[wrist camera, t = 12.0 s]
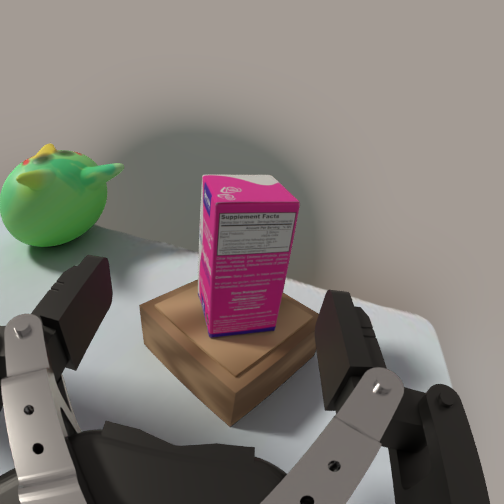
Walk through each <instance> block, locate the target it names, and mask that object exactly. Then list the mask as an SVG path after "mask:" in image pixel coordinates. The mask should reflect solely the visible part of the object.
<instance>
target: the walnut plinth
mask: <svg viewBox="0 0 504 504" xmlns="http://www.w3.org/2000/svg"><path fill="white" fill-rule="evenodd" d="M139 306H140V315H141V324H142V331H143V339H144V344H145V345H146V347H147V348H148V349H149V350H150V351H151V352H152V353H153V354H154V355H155V356H156V357H157V358H158V359H159V360H160V361H161V362H162V363H163V364H164V365H165V367H166V368H167V369H168V370H169V371H170V372H171V373H172V374H173V375H174V376H175V377H176V378H177V379H178V380H179V381H181V382H182V383H183V384H184V385H185V386H186V387H187V388H188V389H189V390H190V391H191V392H192V393H193V394H194V395H195V396H196V397H197V398H198V399H199V400H200V401H202V402H203V403H204V404H205V405H206V406H207V407H208V408H209V409H210V410H211V411H213V412H214V413H215V414H216V415H217V416H218V417H219V418H220V419H222V420H223V421H224V422H225V423H226V424H227V425H229V426H230V427H231V426H232V425H233V424H234V423H236V422H237V421H238V420H240V419H241V418H242V417H243V416H245V415H246V414H247V413H248V412H250V411H251V410H252V409H253V408H254V407H256V406H257V405H258V404H259V403H261V402H262V401H263V400H264V399H265V398H267V397H268V396H269V395H270V394H271V393H272V392H274V391H275V390H276V389H277V388H278V387H279V386H281V385H282V384H283V383H284V382H285V381H286V380H287V379H289V378H290V377H291V376H292V375H293V374H294V373H295V372H296V371H297V370H299V369H300V368H301V367H302V366H303V365H304V364H305V363H306V362H307V361H308V360H309V359H311V358H312V357H313V356H314V354H315V351H316V343H315V325H316V321H317V318H318V315H319V314H318V313H316V312H315V311H313V310H311V309H310V308H308V307H306V306H305V305H303V304H301V303H300V302H298V301H296V300H295V299H293V298H291V297H290V296H288V295H286V294H285V293H283V294H282V299H281V304H280V308H279V313H278V318H277V323H276V328H275V331H269V332H259V333H250V334H241V335H231V336H222V337H212V338H210V337H209V334H208V329H207V325H206V321H205V317H204V313H203V309H202V305H201V302H200V299H199V296H198V280H195V281H193V282H191V283H189V284H186V285H184V286H182V287H180V288H177V289H175V290H173V291H170V292H168V293H166V294H164V295H161V296H159V297H157V298H155V299H152V300H150V301H148V302H145V303H143V304H141V305H139Z"/></svg>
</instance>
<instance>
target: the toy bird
mask: <svg viewBox="0 0 504 504" xmlns="http://www.w3.org/2000/svg"><path fill="white" fill-rule="evenodd" d="M123 169H124V165H123V164H119V163H115V164H107V165H101V166H98V165H97V164H96V163H95V162H94V161H93V160H92V159H90V158H89V157H87V156H85V155H83V154H81V153H77V152H72V151H65V150H56V149H55V148H54V145H53V144H47V145H45V146H44V147H42V148H41V150H40V151H39V152H38V153H37V154H36V155H35V156H33V157H31V158H29V159H27V160H25V161H24V162H22V163H21V164H19V165H18V166H17V167H16V168H15V169H14V170H13V171H12V172H11V173H10V174H9V176H8V177H7V179H6V181H5V183H4V185H3V187H2V191H1V194H0V213H1V217H2V220H3V223H4V225H5V226H6V228H7V230H8V231H9V232H10V233H11V234H12V235H13V236H14V237H15V238H16V239H17V240H19V241H21V242H23V243H25V244H28V245H31V246H37V247H49V246H56V245H60V244H64V243H67V242H69V241H72V240H74V239H76V238H77V237H79V236H81V235H82V234H84V233H85V232H86V231H88V230H89V229H90V228H91V227H92V226H93V225H94V224H95V223H96V221H97V220H98V219H99V217H100V215H101V214H102V212H103V210H104V207H105V204H106V200H107V185H106V182H107V181H109V180H110V179H112V178H113V177H115V176H116V175H118V174H119V173H120V172H121V171H122V170H123Z"/></svg>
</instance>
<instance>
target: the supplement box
mask: <svg viewBox="0 0 504 504" xmlns="http://www.w3.org/2000/svg"><path fill="white" fill-rule="evenodd" d="M299 206H300V202H299V201H298V200H297V199H296V198H295V197H294V196H293V195H292V194H291V193H290V192H289V191H287V190H286V189H285V188H284V187H283V186H282V185H281V184H280V183H279V182H278V181H277V180H275V179H274V177H272V176H271V175H203V176H202V192H201V210H200V212H201V213H200V231H199V262H198V296H199V299H200V302H201V305H202V309H203V313H204V317H205V321H206V325H207V329H208V334H209V337H210V338H212V337H222V336H231V335H241V334H250V333H259V332H269V331H275V328H276V323H277V318H278V313H279V308H280V304H281V299H282V294H283V289H284V284H285V279H286V274H287V269H288V264H289V259H290V254H291V248H292V243H293V238H294V233H295V228H296V222H297V216H298V211H299Z"/></svg>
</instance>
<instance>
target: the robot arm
mask: <svg viewBox="0 0 504 504" xmlns="http://www.w3.org/2000/svg"><path fill="white" fill-rule="evenodd" d="M112 295H113V292H112V284H111V277H110V269H109V262H108V259H107V258H105V257H99V256H93V255H87V256H86V257H85V258H84V259H83V260H82V262H81V263H80V264H79V265H78V266H73V267H72V268H70V269H68V270H67V271H65V272H64V273H63V274H62V275H61V276H60V277H59V279H58V280H57V282H56V283H55V284H54V285H53V286H52V287H51V290H49V291H48V292H47V294H46V295H45V296H44V297H43V299H42V300H41V301H40V302H39V304H38V305H37V306H36V308H35V309H34V310H33V312H32V313H31V314H21V315H18V316H16V317H14V318H13V319H11V320H10V321H9V322H8V324H7V325H6V326H0V411H1V408H2V406H3V407H4V414H5V421H6V427H7V432H8V438H9V443H10V447H11V452H12V456H13V461H14V465H15V468H14V469H12V470H10V471H8V472H6V473H5V474H3V475H1V476H0V504H346V502H347V501H348V500H349V498H350V497H351V495H352V494H353V492H354V491H355V489H356V487H357V486H358V484H359V483H360V481H361V480H362V478H363V476H364V475H365V473H366V472H367V470H368V468H369V467H370V465H371V463H372V461H373V460H374V458H375V456H376V455H377V453H378V451H379V449H380V447H381V446H383V447H388V450H389V456H390V463H391V471H392V478H393V487H394V495H395V504H490V501H489V496H488V491H487V487H486V483H485V478H484V474H483V471H482V467H481V463H480V459H479V455H478V452H477V448H476V445H475V442H474V438H473V435H472V432H471V429H470V425H469V422H468V419H467V416H466V413H465V411H464V408H463V405H462V402H461V399H460V397H459V396H458V394H457V393H456V392H455V391H454V390H453V389H452V388H450V387H449V386H446V385H443V384H436V385H433V386H431V387H430V388H429V390H428V391H427V392H426V393H424V392H420V391H416V390H412V389H408V388H405V387H404V386H403V383H402V381H401V379H400V378H399V377H398V376H397V375H396V374H395V373H394V372H392V371H390V370H388V369H387V368H386V365H385V362H384V359H383V356H382V353H381V350H380V347H379V344H378V341H377V338H375V337H376V335H375V333H374V330H373V329H372V328H373V327H372V324H371V321H370V319H369V316H368V315H367V314H366V313H365V312H364V311H363V310H362V308H361V307H354V305H353V302H352V299H351V296H350V293H349V292H344V291H335V290H328V291H327V293H326V295H325V298H324V301H323V304H322V307H321V310H320V313H319V315H318V318H317V321H316V325H315V343H316V350H317V357H318V363H319V370H320V377H321V385H322V392H323V399H324V407H325V411H336V416H334V417H333V419H332V420H331V421H330V423H329V424H328V425H327V427H326V428H325V429H324V430H323V432H322V433H321V434H320V436H319V437H318V438H317V439H316V441H315V442H314V443H313V444H312V446H311V447H310V448H309V449H308V451H307V452H306V453H305V454H304V455H303V457H302V458H301V459H300V460H299V461H298V463H297V464H296V465H295V466H294V467H293V468H292V470H291V471H290V472H289V473H288V474H286V473H285V472H284V471H283V470H281V469H280V468H278V467H277V466H275V465H273V464H272V463H270V462H268V461H265V460H263V459H261V458H257V457H254V453H255V447H244V446H234V445H225V444H217V443H216V444H204V445H188V446H176V445H172V444H170V443H168V442H166V441H163V440H161V439H159V438H157V437H155V436H152V435H150V434H148V433H146V432H144V431H142V430H140V429H136V428H132V427H128V426H124V425H120V424H116V423H113V422H109V421H105V424H104V427H103V430H101V429H99V430H88V431H83V432H82V431H81V429H80V427H79V425H78V423H77V420H76V418H75V415H74V412H73V409H72V405H71V402H70V399H69V395H68V392H67V388H66V385H65V381H64V378H63V375H62V372H63V371H64V369H65V367H66V368H69V369H72V370H77V368H78V366H79V364H80V362H81V360H82V358H83V356H84V354H85V352H86V350H87V348H88V346H89V345H90V343H91V341H92V339H93V337H94V335H95V333H96V331H97V330H98V328H99V326H100V324H101V322H102V320H103V319H104V317H105V315H106V313H107V311H108V310H109V308H110V306H111V302H112Z"/></svg>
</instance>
